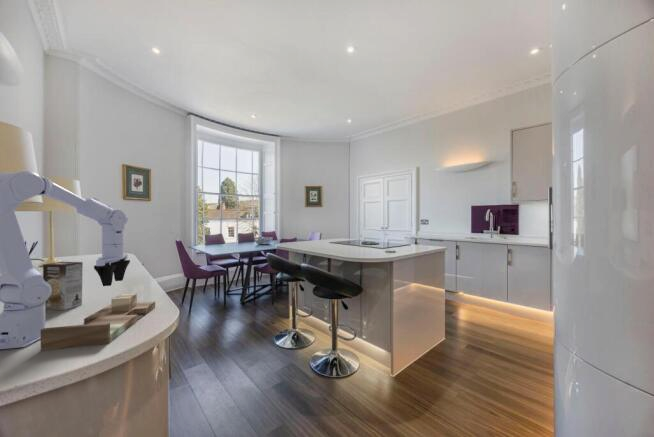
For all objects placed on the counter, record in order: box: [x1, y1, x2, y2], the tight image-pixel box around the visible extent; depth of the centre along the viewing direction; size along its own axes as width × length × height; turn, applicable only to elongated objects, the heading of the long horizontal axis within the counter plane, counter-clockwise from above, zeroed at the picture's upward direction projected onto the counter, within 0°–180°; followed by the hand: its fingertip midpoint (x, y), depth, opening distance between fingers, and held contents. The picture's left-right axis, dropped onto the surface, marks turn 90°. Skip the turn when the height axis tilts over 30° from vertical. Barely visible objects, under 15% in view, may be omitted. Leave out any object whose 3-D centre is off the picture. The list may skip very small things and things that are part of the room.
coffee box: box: [42, 261, 84, 311], centre depth 94 cm, size 9×6×16 cm
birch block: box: [110, 293, 138, 312], centre depth 86 cm, size 5×5×4 cm
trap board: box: [40, 300, 156, 351], centre depth 78 cm, size 28×14×5 cm, turn 13°
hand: (113, 283), depth 90 cm, fingers open, 6 cm apart
